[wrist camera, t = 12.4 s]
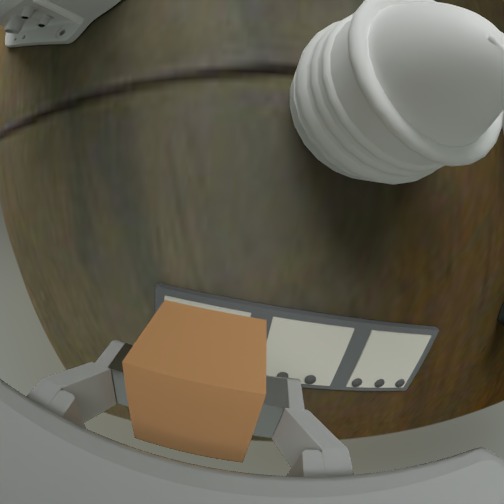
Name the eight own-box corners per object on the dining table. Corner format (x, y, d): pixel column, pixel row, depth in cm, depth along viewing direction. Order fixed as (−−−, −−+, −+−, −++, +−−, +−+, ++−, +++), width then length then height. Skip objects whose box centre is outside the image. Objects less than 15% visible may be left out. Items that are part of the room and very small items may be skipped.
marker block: (163, 373, 12) (135, 437, 8) (164, 299, 11) (121, 361, 7) (248, 391, 12) (242, 462, 8) (266, 319, 11) (266, 394, 7)
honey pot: (440, 93, 19) (586, 61, 2) (394, 206, 23) (560, 285, 5) (323, 20, 18) (388, -120, 1) (263, 136, 21) (262, 39, 4)
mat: (156, 356, 28) (153, 362, 27) (158, 282, 25) (154, 288, 24) (404, 386, 29) (407, 392, 27) (436, 326, 26) (440, 332, 25)
